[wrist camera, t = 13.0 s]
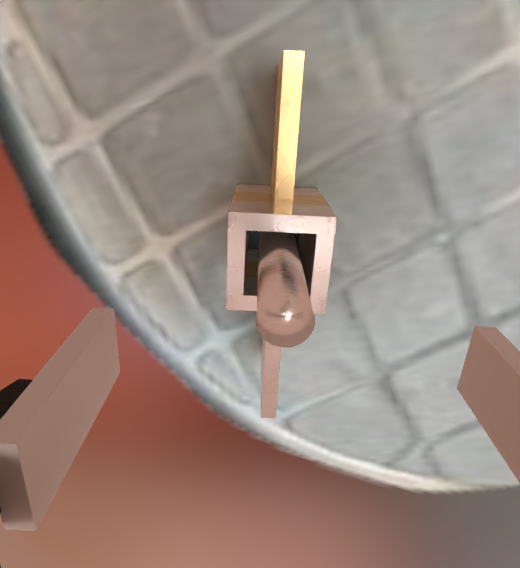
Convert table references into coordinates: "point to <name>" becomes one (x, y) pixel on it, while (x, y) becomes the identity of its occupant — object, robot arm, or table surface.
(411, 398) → the table surface
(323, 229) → the hinge
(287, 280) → the hinge pin
